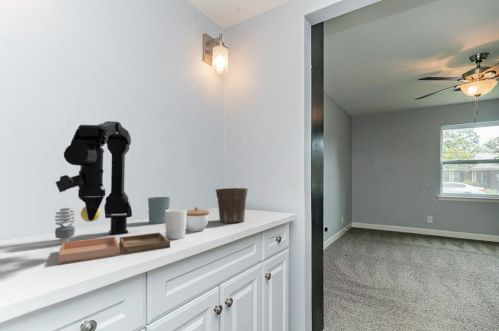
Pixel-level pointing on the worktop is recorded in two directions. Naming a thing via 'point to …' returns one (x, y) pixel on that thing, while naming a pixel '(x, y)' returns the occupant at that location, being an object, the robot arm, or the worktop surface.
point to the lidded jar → (197, 219)
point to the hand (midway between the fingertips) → (90, 219)
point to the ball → (85, 216)
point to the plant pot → (231, 204)
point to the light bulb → (65, 231)
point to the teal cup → (158, 209)
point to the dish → (88, 250)
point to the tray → (143, 243)
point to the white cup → (175, 223)
